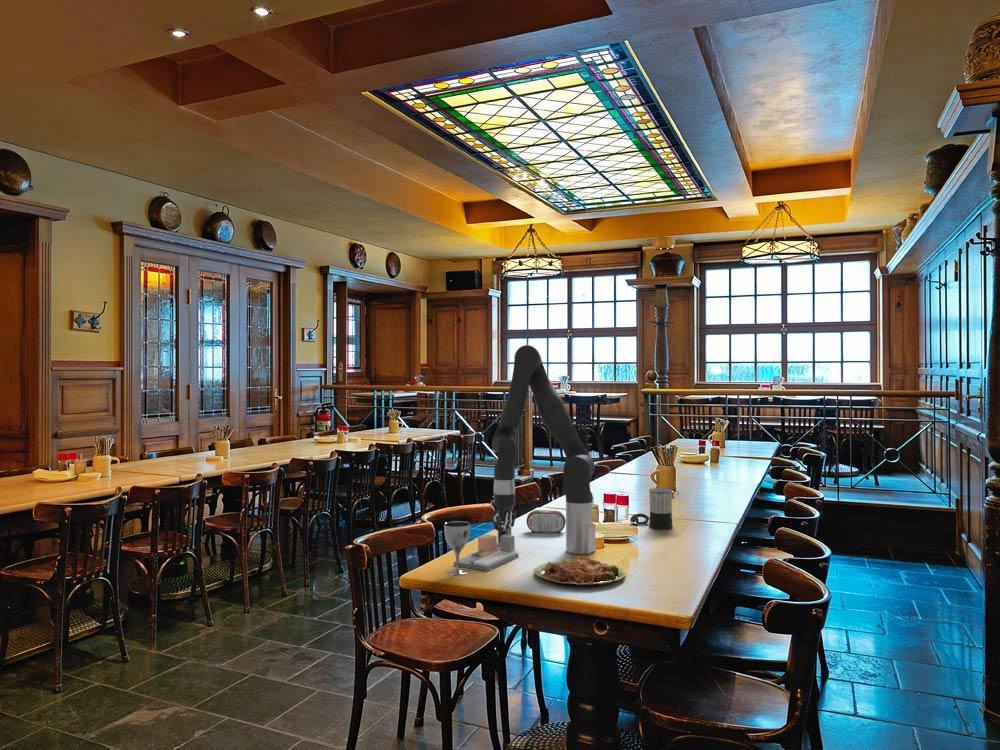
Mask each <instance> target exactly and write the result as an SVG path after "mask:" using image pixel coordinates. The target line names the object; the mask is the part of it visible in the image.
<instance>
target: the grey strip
mask: <svg viewBox="0 0 1000 750" xmlns="http://www.w3.org/2000/svg"><path fill="white" fill-rule="evenodd" d="M515 545H516V544H515V535H512V534H511V535H502V536H500V550H499V551H497V552H494V553H492V554H490V555H487V556H485V557H483V558H480V559H478V560H476V561H473V564H474V565H480V566H486V567H488V566H490V565H492V564H495V563H497V562H499V561H501V560H503V559H506V558H508V557H510V556H512V555H514V554H516V553H517V550H515V547H516V546H515Z"/></svg>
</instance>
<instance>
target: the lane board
mask: <svg viewBox="0 0 1000 750" xmlns="http://www.w3.org/2000/svg"><path fill="white" fill-rule="evenodd" d="M499 550H500V549H498V550H495V551H493V552H491V553H488V554H486V555H484V556H475V555H472V553H471V554H469V555H467V556H465V557H462V558H459V568H460V567H461V568H468V569H472V570H477V569H479V571H483V570H487V571H486V572H489V571H488V570H490V569H492V570H494V569H496V568H498V567H500V566H499V565H501V566H502V564H503V565H505V564H507V563H509V562H511V561H513V560H515V558H516V559H517V557H518V558H519V553H517V552H516V554H514V555H512V556H510V557H508V558H506V559H503V560H501V561H499V562H497V563H495V564H492V565H490V566H488V567H486V566H480V565H474V564H473V561H476V560H478V559H480V558H483V557H485V556H487V555H490V554H492V553H494V552H497V551H499ZM510 560H511V561H510ZM508 561H509V562H508ZM506 562H507V563H506ZM504 563H505V564H504ZM453 566H454V567H456V560H455V561H453ZM497 566H498V567H497ZM495 567H496V568H495ZM493 568H494V569H493ZM490 571H491V570H490Z"/></svg>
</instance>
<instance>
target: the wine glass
mask: <svg viewBox="0 0 1000 750" xmlns="http://www.w3.org/2000/svg"><path fill="white" fill-rule="evenodd" d="M443 527H444V536H445V541H446V543H447V545H448V546H449V547H450V548H451V550H452V551H453V552H454V554H455V555H454V556H455V561H456V566H455V568H452V569H449V570H446V572H447V573H448V574H453V575H452V576H454V575H460V576H465V575H468V574H469V573H470V571H469V569H465V568H460V566H459V559H460V554H461V552H462V551H463V549H464V547H465V546H466V545H467V543H468V542H469V539H470V533H471V524H470V522H469V521H462V520H460V521H459V520H453V521H448V522H445V523H444V526H443ZM447 573H446V574H447ZM467 573H468V574H467ZM448 574H447V575H448ZM464 574H465V575H464Z"/></svg>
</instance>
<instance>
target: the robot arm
mask: <svg viewBox="0 0 1000 750" xmlns="http://www.w3.org/2000/svg"><path fill="white" fill-rule="evenodd" d="M512 371H513V372H512V375H511V382H510V387H509V389H508V393H507V396H506V399H505V400H506V401H505V404H504V406H503V410H502V414H501V418H500V421H499V424H498V426H497V428H496V430H495V432H494V433H493V437H492V440H491V447H492V450H493V451H494V452H495V453H496V454H497V458H496V459H497V461H496V463H495V464H494V466H493V469H494V470H493V472H494V473H493V474H494V476H493V477H494V481H493V505H494V506H495V507H496V510H495V515H492V516H491V520H492V523H493V527H494V530H495V531H497V532H498V531H499V542H500V536H502V535H505V529H506V528H511V529H512V528H514V525H515V521H516V518H517V514H518V513H517V512H518V511H517V510H515V509H514V508H513V507H514V506H516V483H515V463H516V458H517V450H518V449H517V448H518V447H517V443H516V439H514V438H513V437H514V434H515V432H516V430H518V429H519V428H520V426H521V421H522V419H523V416H524V411H525V407H526V400H527V395H528V391H529V390H528V388H530V390H531V392H532V397H533V399H534V404H535V405H536V409H537V411H538V413H539V416H540V417H541V420H542V422H543V424H544V426H545V428H546V429H547V430H548V432H549V433H550V434H551V436H552V437H553V438H554V439H555V440H556V441H557V443H558V444H559V445H560V447H561V448H562V450H563V452H564V454H565V457H566V460H565V462H564V465H563V474H562V475H563V476H562V477H563V492H564V496H565V520H566V523H565V550H566V552H567V553H569V554H575V555H590V554H592V553H594V552H595V551H596V523H595V522H594V514H593V513H594V512H593V511H594V510H593V509H594V507H593V504H594V503H593V500H594V495H593V493H592V491H591V482H590V481H591V479H590V478H591V477H592V476H594V473H595V461H594V460H593V458H592V457H591V455H590V453H589V452H588V449H586V446H585V445H584V444H583V441H582V440H581V439H580V436H579V434H578V432H577V429H576V427H575V425H574V423H573V420H572V419H571V416H570V414H569V411H568V410H567V408H566V405H565V403H564V402H563V399H562V398H561V396H560V394H559V393H558V391H557V389H556V388H555V387H554V385H553V384H552V382H551V381H550V379H549V376H548V374H547V372H546V369H545V366H544V364H543V360H542V356H541V354H540V352H539V350H538V349H537V348H536V347H535V346H533V345H529V344H524V345H522V346H520V347H519V348H518V349H517V350H516V351H515V353H514V361H513V369H512ZM502 527H503V528H502Z"/></svg>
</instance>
